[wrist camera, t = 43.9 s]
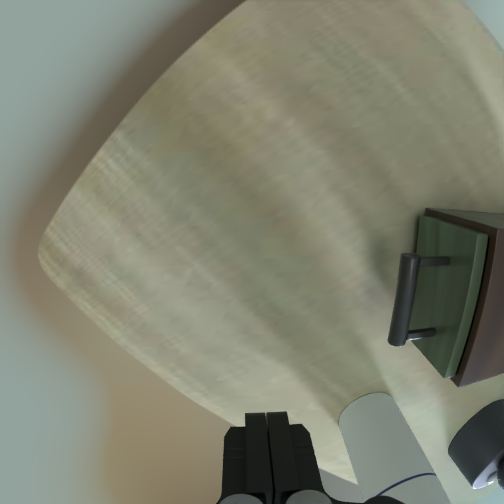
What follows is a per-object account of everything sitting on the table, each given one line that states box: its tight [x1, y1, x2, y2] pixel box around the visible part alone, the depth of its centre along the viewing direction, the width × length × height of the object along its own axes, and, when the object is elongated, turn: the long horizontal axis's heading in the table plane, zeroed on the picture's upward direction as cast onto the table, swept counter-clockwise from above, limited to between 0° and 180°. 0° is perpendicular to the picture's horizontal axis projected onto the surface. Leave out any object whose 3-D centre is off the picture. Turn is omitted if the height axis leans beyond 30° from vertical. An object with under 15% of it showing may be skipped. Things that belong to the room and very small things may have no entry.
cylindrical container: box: [339, 393, 451, 504], centre depth 19 cm, size 7×7×25 cm
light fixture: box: [448, 400, 504, 489], centre depth 27 cm, size 13×16×14 cm
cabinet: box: [425, 208, 504, 388], centre depth 22 cm, size 15×13×10 cm
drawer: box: [388, 215, 490, 378], centre depth 22 cm, size 18×11×8 cm, turn 90°
